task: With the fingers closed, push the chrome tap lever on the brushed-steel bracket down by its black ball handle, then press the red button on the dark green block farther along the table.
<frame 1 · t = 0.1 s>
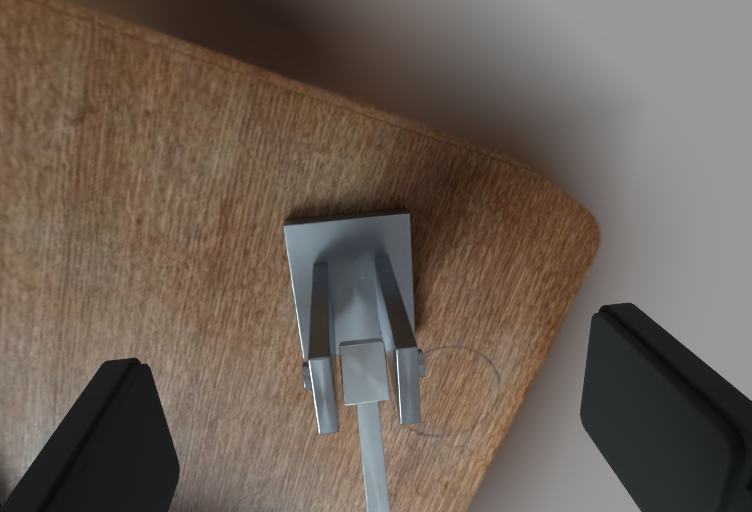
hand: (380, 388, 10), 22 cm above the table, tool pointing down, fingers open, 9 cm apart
tap bracket: (352, 282, 34), on the table
tap lever: (374, 474, 24), point 12 cm above the table, hinge at 28.0°
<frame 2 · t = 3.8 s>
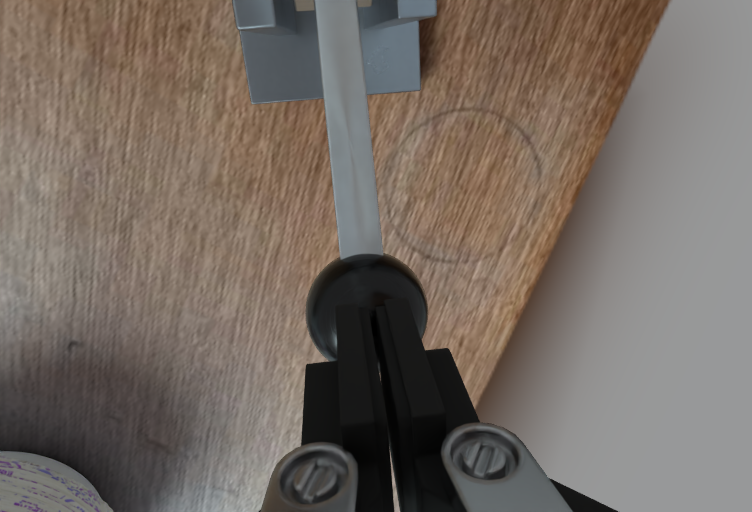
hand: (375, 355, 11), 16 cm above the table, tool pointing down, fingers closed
paper bowls: (26, 500, 32), on the table
tap lever: (347, 126, 13), point 12 cm above the table, hinge at 24.1°, touching gripper
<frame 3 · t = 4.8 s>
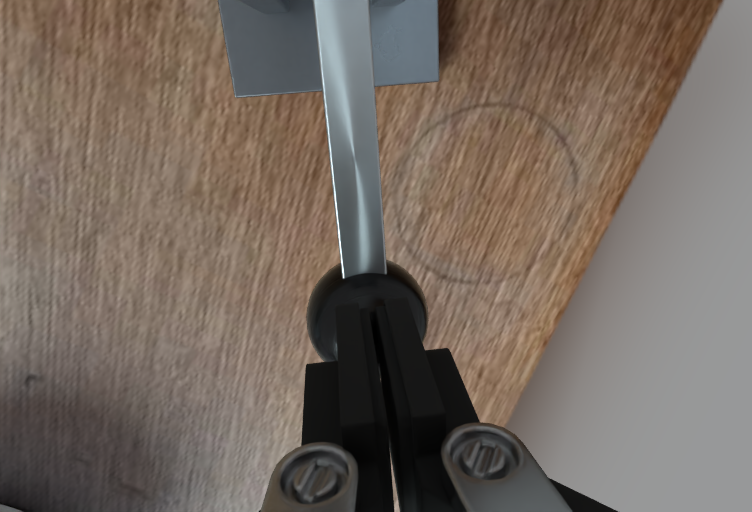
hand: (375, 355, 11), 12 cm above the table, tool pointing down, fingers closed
tap lever: (351, 127, 11), point 10 cm above the table, hinge at 0.5°, touching gripper
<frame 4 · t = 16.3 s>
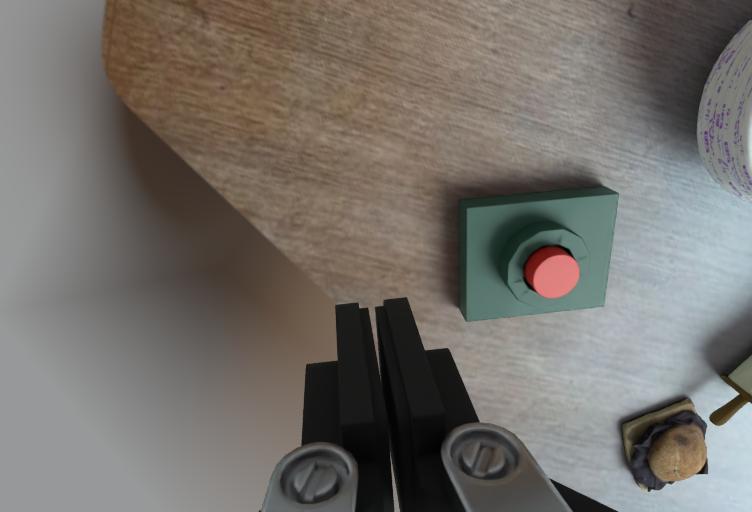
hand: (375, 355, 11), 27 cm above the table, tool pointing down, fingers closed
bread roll: (661, 442, 52), on the table
button: (551, 272, 37), point 4 cm above the table, slide at 0.1 cm
button block: (528, 250, 41), on the table
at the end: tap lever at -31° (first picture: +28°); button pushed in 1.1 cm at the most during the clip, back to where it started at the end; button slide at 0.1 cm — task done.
